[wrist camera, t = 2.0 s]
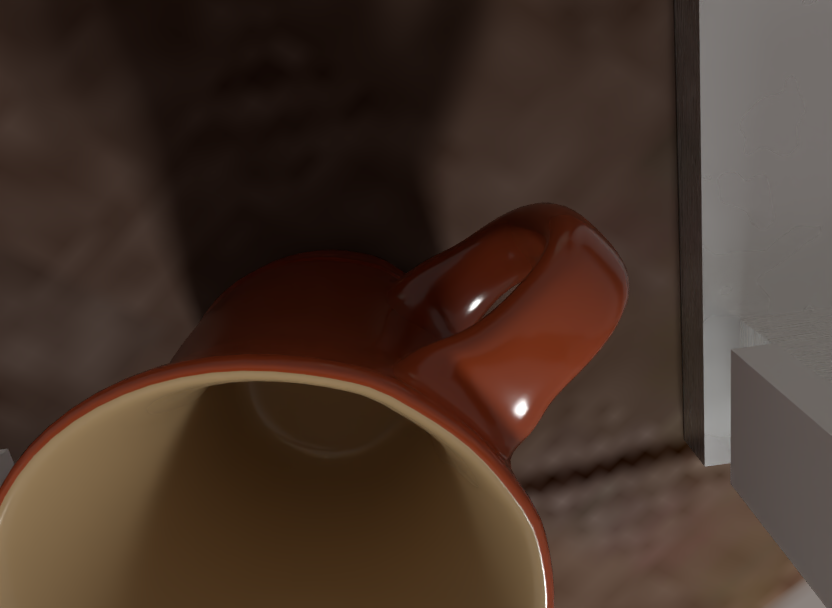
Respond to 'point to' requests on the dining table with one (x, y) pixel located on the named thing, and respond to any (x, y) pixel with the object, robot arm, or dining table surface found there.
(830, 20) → the grey u-shaped block
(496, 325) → the mug
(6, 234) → the dining table surface
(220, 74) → the dining table surface
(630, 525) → the dining table surface
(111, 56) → the dining table surface
